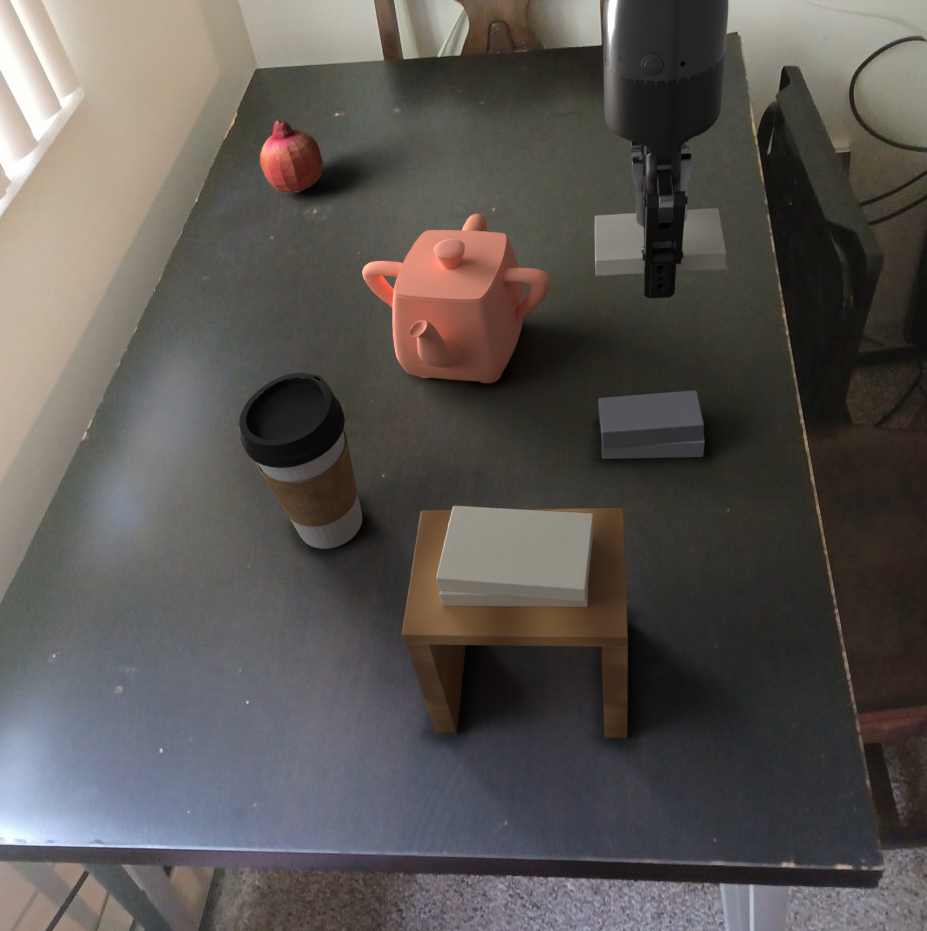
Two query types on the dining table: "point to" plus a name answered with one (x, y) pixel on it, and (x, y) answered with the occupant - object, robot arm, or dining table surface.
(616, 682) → the shelf
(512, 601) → the white books
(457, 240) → the teapot
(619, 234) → the white book
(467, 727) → the dining table surface
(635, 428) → the grey books
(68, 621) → the dining table surface
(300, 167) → the fruit
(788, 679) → the dining table surface
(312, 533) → the coffee cup
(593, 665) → the dining table surface
